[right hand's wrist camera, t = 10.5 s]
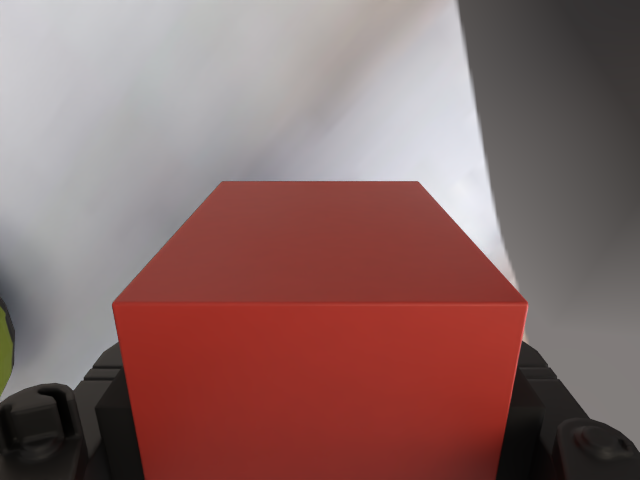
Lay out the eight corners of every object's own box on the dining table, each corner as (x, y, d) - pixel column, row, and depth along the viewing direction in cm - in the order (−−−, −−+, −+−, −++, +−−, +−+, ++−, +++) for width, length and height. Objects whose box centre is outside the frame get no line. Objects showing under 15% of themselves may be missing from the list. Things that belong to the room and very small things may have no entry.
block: (235, 363, 17) (166, 603, 9) (221, 180, 15) (110, 303, 7) (404, 363, 17) (473, 603, 9) (418, 180, 15) (531, 303, 7)
